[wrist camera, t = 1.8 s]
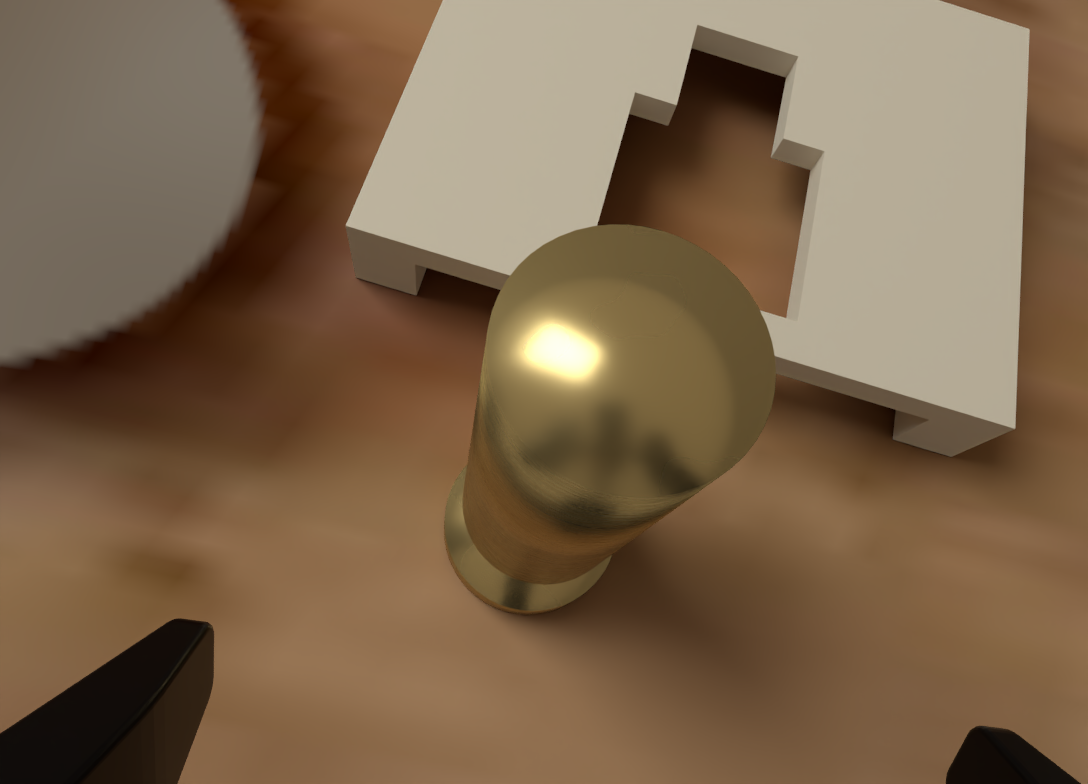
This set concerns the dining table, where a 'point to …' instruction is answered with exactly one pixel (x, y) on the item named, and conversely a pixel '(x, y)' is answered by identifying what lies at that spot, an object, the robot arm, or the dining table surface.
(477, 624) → the dining table surface
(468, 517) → the brass peg
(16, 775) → the robot arm
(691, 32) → the keyhole plate
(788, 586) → the dining table surface
